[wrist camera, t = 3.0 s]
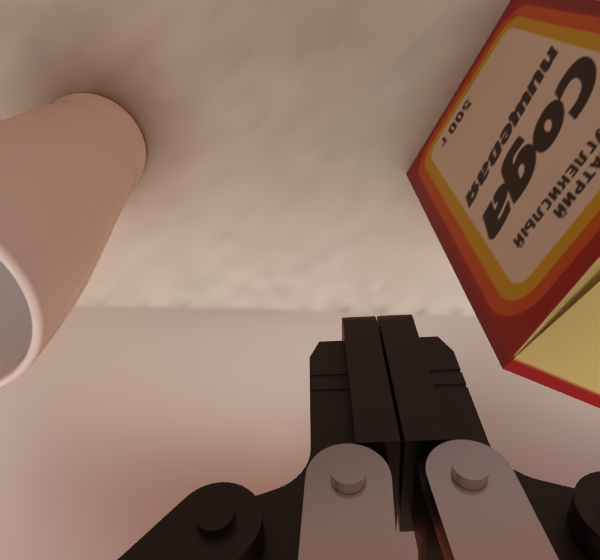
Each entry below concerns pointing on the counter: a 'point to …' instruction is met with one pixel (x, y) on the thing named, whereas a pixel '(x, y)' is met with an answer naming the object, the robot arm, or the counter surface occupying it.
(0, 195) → the pinkish beige cup
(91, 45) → the counter surface
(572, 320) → the baking soda box
